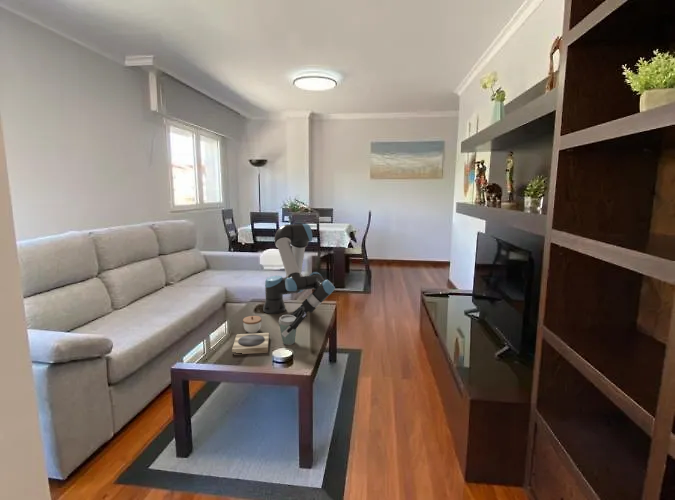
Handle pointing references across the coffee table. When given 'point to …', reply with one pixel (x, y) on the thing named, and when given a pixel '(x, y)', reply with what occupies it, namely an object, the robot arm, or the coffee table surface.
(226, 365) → the coffee table surface
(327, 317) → the coffee table surface
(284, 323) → the disposable coffee cup
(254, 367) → the coffee table surface
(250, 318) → the lidded jar
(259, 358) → the coffee table surface
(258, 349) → the birch riser
